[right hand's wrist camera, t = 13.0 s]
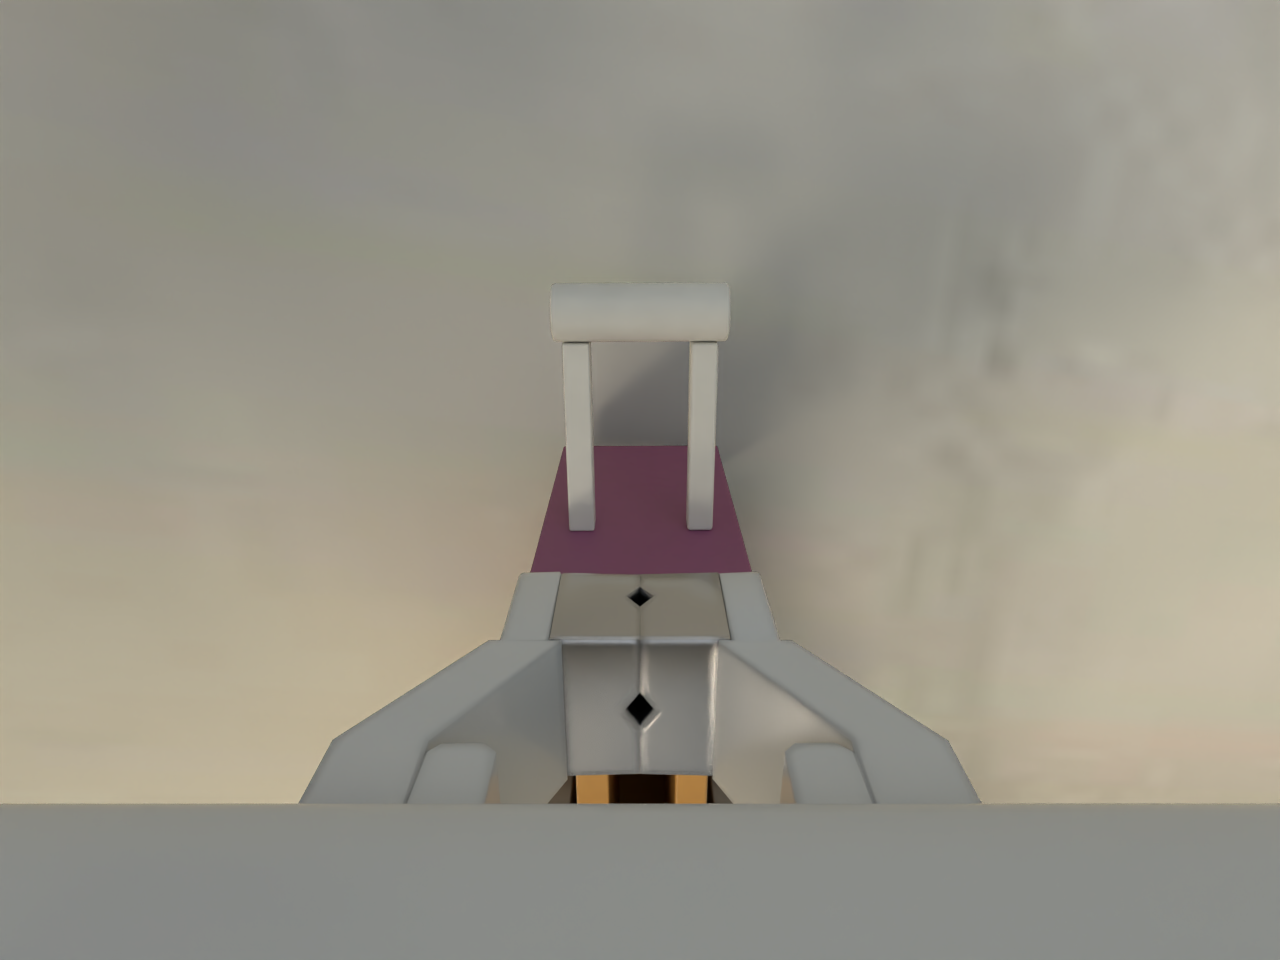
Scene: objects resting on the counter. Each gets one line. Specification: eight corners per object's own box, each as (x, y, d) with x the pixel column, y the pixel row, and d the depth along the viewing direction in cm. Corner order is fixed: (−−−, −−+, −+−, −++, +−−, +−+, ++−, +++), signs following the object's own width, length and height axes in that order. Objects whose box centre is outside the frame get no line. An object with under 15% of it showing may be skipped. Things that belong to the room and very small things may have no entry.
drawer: (555, 254, 22) (511, 302, 15) (724, 253, 22) (769, 301, 15) (579, 827, 30) (559, 1054, 22) (703, 827, 30) (726, 1053, 22)
